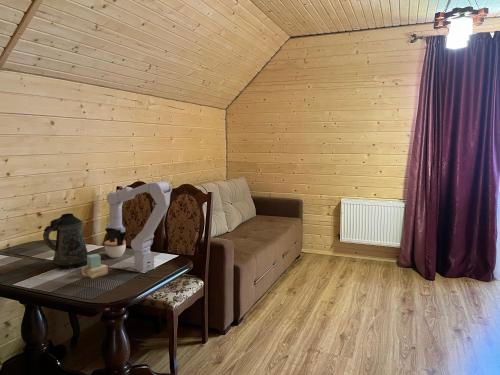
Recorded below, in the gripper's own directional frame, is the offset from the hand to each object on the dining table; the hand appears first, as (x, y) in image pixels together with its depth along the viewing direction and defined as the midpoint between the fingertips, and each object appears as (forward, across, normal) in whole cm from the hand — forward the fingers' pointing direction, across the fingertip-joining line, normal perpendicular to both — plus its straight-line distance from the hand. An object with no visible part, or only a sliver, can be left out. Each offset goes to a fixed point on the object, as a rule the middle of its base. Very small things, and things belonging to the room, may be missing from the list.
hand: (116, 243), depth 193 cm
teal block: (+7, +6, -14) cm, 16 cm away
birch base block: (+11, +6, -14) cm, 18 cm away
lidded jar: (+11, -12, +6) cm, 18 cm away
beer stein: (+11, -14, -17) cm, 25 cm away
